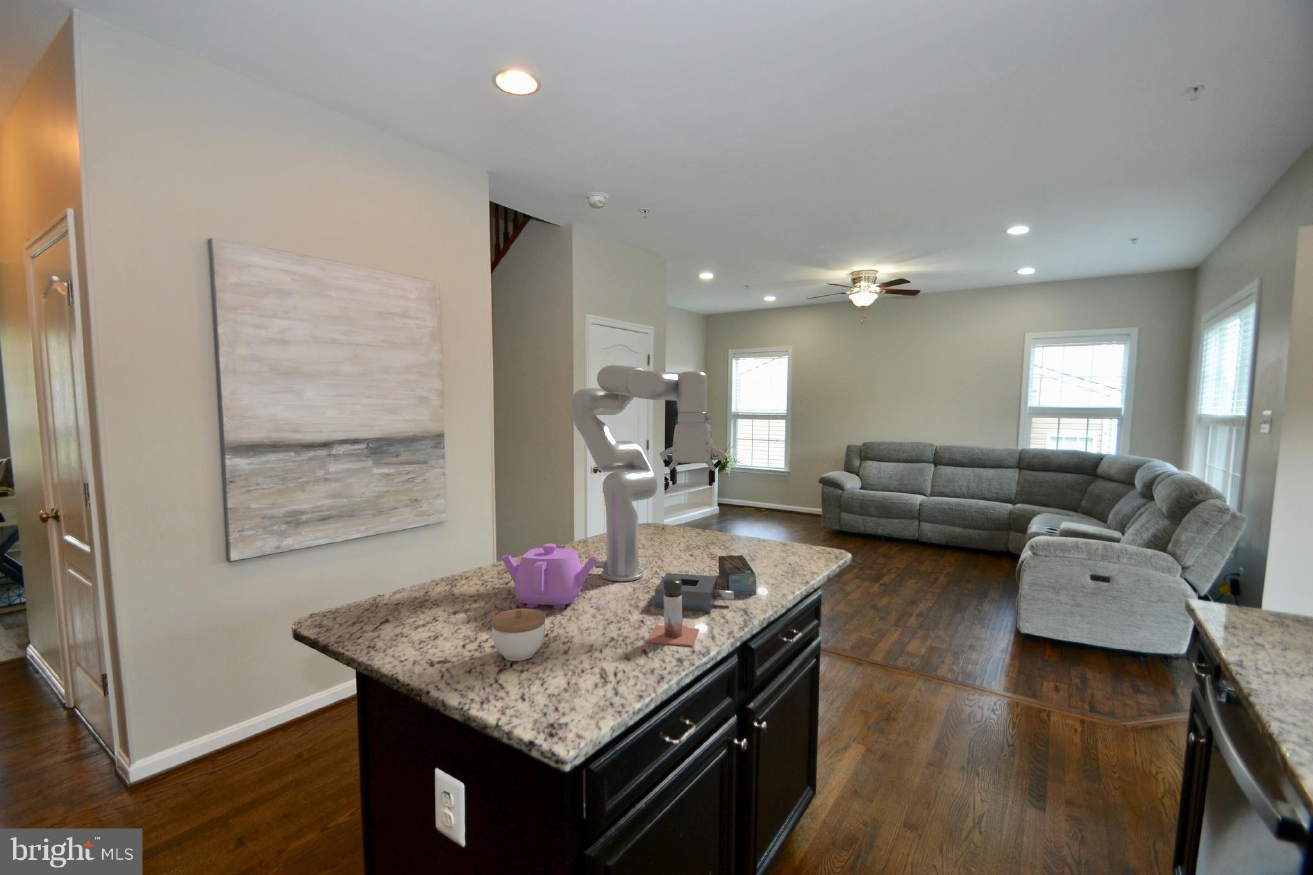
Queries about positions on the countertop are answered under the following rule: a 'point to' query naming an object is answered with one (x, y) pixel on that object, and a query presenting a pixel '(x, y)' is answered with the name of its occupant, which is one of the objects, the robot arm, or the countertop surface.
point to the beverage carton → (737, 575)
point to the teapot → (548, 575)
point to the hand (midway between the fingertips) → (692, 484)
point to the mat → (684, 640)
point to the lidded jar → (518, 633)
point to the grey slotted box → (694, 592)
